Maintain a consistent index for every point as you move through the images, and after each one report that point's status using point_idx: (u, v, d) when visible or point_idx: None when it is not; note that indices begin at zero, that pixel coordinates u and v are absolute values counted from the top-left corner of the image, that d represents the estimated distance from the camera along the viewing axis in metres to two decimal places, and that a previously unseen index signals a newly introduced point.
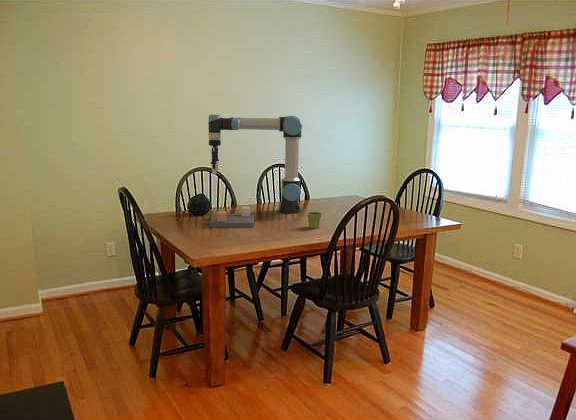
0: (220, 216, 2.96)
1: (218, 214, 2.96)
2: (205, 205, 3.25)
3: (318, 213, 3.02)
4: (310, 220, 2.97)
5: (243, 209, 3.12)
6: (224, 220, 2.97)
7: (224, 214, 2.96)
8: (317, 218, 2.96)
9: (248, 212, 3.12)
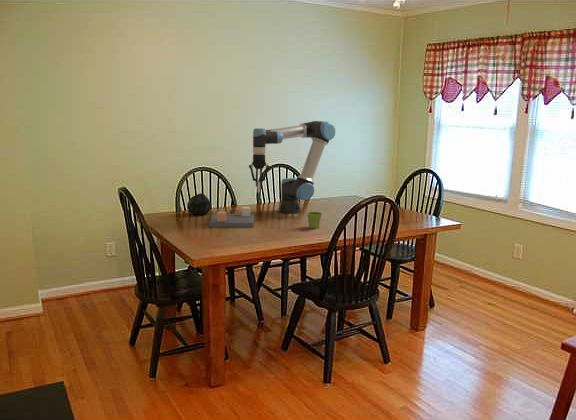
0: (220, 216, 2.96)
1: (218, 214, 2.96)
2: (205, 205, 3.25)
3: (318, 213, 3.02)
4: (310, 220, 2.97)
5: (243, 209, 3.12)
6: (224, 220, 2.97)
7: (224, 214, 2.96)
8: (317, 218, 2.96)
9: (248, 212, 3.12)
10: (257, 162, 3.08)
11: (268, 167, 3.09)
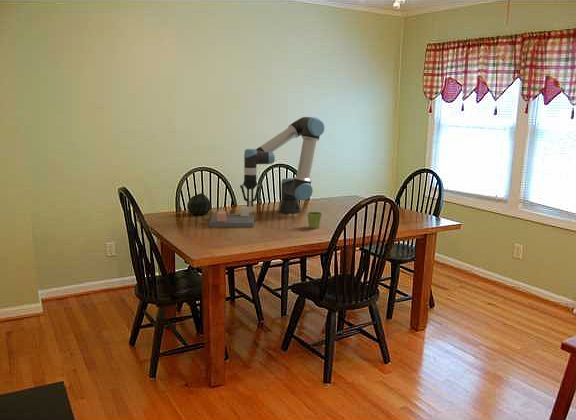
0: (220, 216, 2.96)
1: (218, 214, 2.96)
2: (205, 205, 3.25)
3: (318, 213, 3.02)
4: (310, 220, 2.97)
5: (242, 209, 3.12)
6: (224, 220, 2.97)
7: (224, 214, 2.96)
8: (317, 218, 2.96)
9: (247, 212, 3.12)
10: (248, 182, 3.10)
11: (259, 187, 3.11)
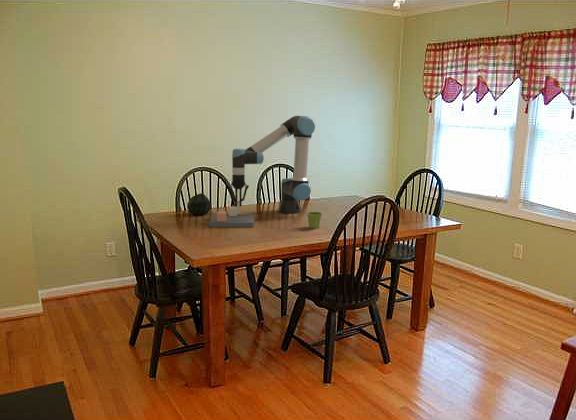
0: (220, 216, 2.96)
1: (218, 214, 2.96)
2: (205, 205, 3.25)
3: (318, 213, 3.02)
4: (310, 220, 2.97)
5: (230, 209, 3.11)
6: (224, 220, 2.97)
7: (224, 214, 2.96)
8: (317, 218, 2.96)
9: (235, 212, 3.12)
10: (236, 182, 3.10)
11: (247, 187, 3.11)
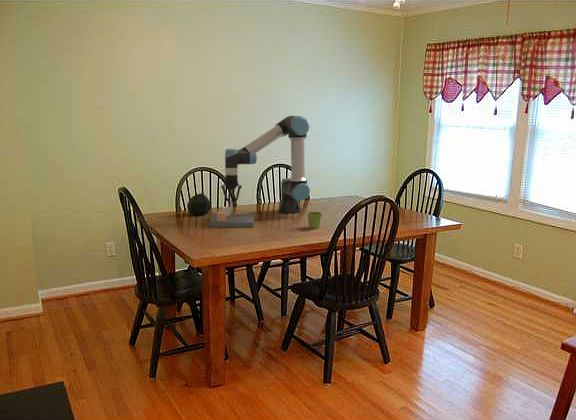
0: (220, 216, 2.96)
1: (218, 214, 2.96)
2: (205, 205, 3.25)
3: (318, 213, 3.02)
4: (310, 220, 2.97)
5: (223, 209, 3.11)
6: (224, 220, 2.97)
7: (224, 214, 2.96)
8: (317, 218, 2.96)
9: (228, 212, 3.11)
10: (229, 182, 3.10)
11: (240, 187, 3.10)
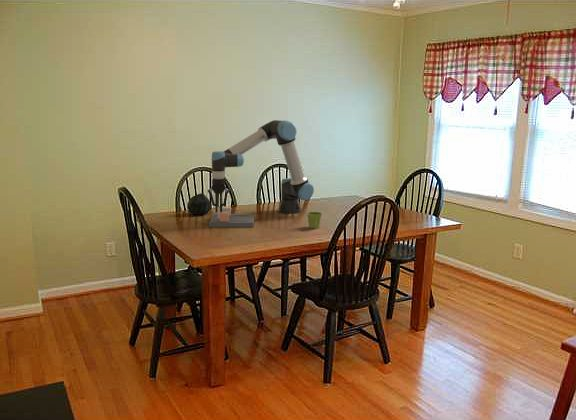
0: (223, 216, 2.96)
1: (221, 214, 2.96)
2: (205, 205, 3.25)
3: (318, 213, 3.02)
4: (310, 220, 2.97)
5: (223, 209, 3.11)
6: (227, 220, 2.97)
7: (227, 214, 2.96)
8: (317, 218, 2.96)
9: None
10: (216, 187, 2.95)
11: (228, 192, 2.96)
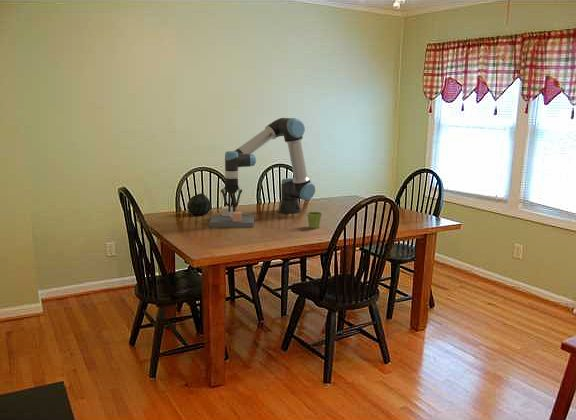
0: (236, 216, 2.97)
1: (234, 214, 2.97)
2: (205, 205, 3.25)
3: (318, 213, 3.02)
4: (310, 220, 2.97)
5: (223, 209, 3.11)
6: (240, 220, 2.97)
7: (240, 214, 2.97)
8: (317, 218, 2.96)
9: (228, 212, 3.11)
10: (229, 186, 2.95)
11: (241, 191, 2.96)
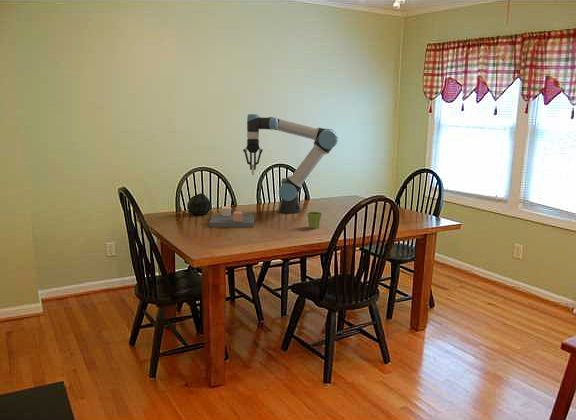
0: (236, 216, 2.97)
1: (234, 214, 2.97)
2: (205, 205, 3.25)
3: (318, 213, 3.02)
4: (310, 220, 2.97)
5: (223, 209, 3.11)
6: (240, 220, 2.98)
7: (240, 214, 2.97)
8: (317, 218, 2.96)
9: (228, 212, 3.11)
10: (251, 146, 3.24)
11: (261, 151, 3.25)
